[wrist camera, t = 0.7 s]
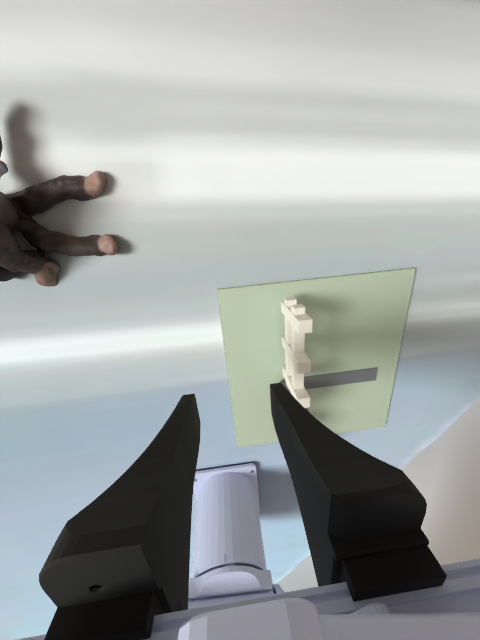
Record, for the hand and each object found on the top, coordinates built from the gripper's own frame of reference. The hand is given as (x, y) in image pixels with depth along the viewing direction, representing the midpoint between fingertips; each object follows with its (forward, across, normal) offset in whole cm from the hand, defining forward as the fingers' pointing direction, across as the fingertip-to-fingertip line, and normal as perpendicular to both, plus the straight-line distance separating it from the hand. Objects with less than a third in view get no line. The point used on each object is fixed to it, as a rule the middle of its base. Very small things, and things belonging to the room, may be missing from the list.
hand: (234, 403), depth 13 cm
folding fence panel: (+9, -6, +1) cm, 11 cm away
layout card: (+10, -8, +6) cm, 14 cm away
